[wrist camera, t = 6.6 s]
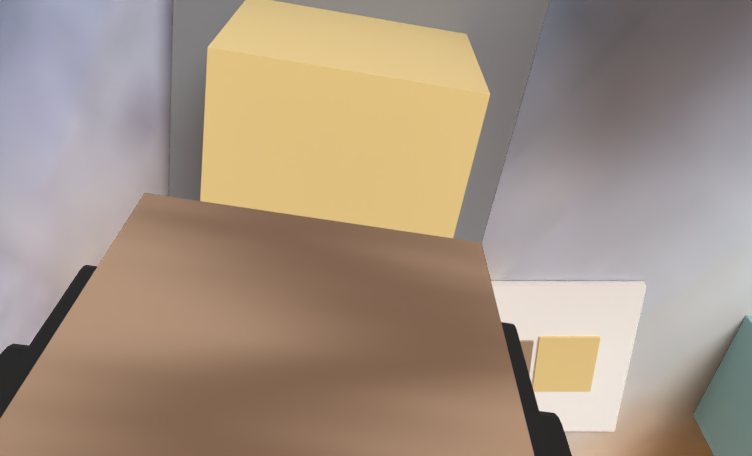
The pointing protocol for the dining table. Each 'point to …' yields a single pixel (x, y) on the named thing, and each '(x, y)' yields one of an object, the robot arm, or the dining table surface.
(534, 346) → the tile
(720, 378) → the teal brick
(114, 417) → the walnut brick
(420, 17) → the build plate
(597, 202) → the dining table surface
